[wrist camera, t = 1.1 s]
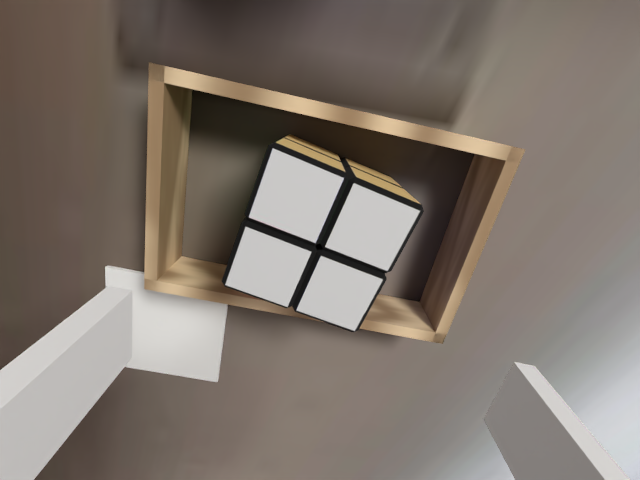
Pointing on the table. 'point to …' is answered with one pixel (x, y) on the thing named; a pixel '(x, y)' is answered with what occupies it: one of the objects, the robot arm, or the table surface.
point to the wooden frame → (482, 178)
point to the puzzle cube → (320, 233)
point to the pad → (172, 329)
